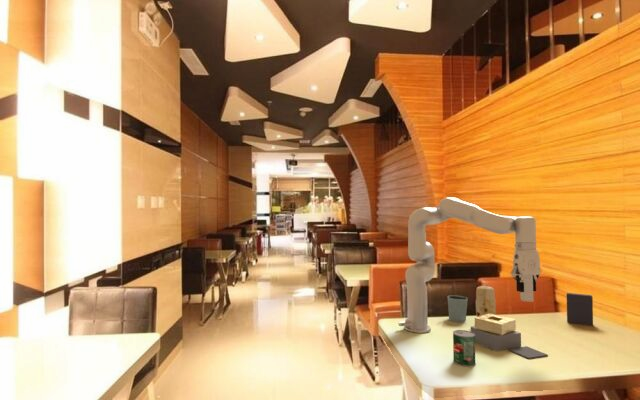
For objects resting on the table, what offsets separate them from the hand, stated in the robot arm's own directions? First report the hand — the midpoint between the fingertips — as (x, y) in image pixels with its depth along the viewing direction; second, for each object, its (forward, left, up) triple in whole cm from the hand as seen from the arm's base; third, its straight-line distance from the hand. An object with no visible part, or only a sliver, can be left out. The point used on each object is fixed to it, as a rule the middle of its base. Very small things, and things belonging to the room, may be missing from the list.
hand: (526, 290), depth 152 cm
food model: (+11, +35, -25) cm, 45 cm away
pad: (0, 0, -25) cm, 25 cm away
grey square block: (-4, +13, -25) cm, 29 cm away
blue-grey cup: (+5, +49, -25) cm, 55 cm away
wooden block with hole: (-3, +13, -19) cm, 23 cm away
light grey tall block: (0, 0, -4) cm, 4 cm away
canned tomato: (-31, 0, -25) cm, 40 cm away
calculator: (+61, +24, -25) cm, 70 cm away
